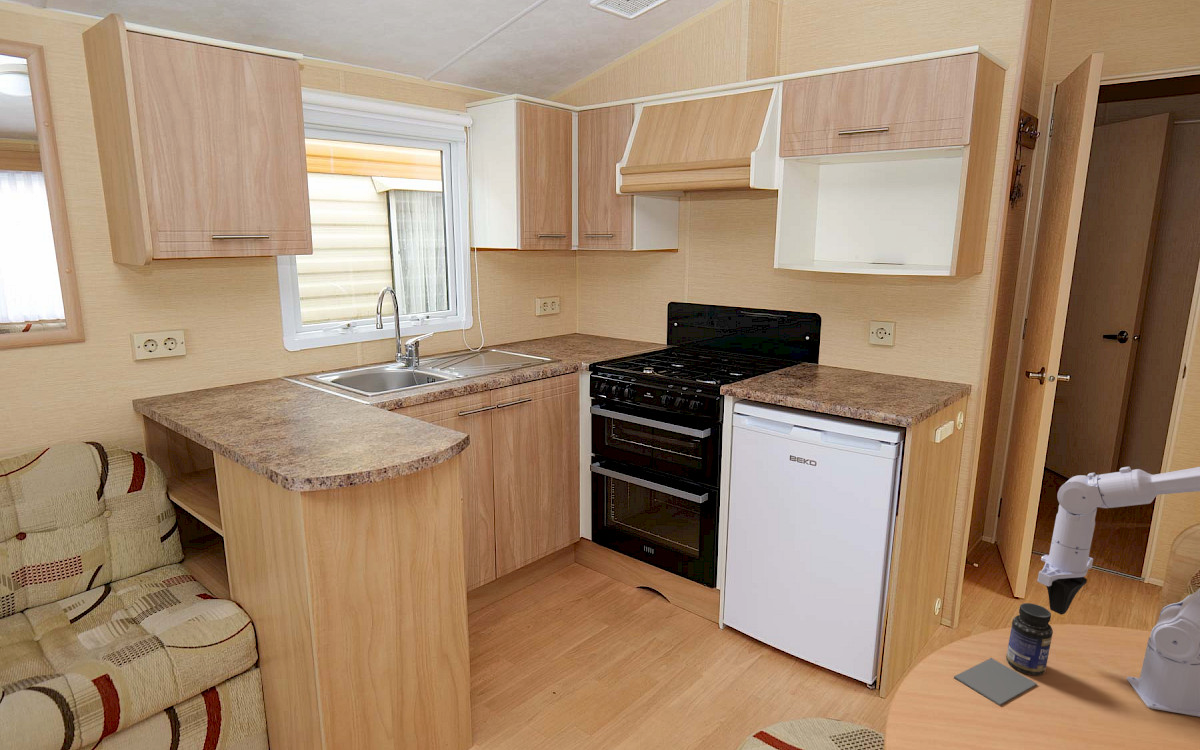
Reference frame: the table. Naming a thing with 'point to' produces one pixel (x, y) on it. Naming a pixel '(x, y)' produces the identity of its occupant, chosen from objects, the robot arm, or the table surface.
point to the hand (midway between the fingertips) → (1057, 611)
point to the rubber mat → (995, 681)
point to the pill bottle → (1030, 639)
